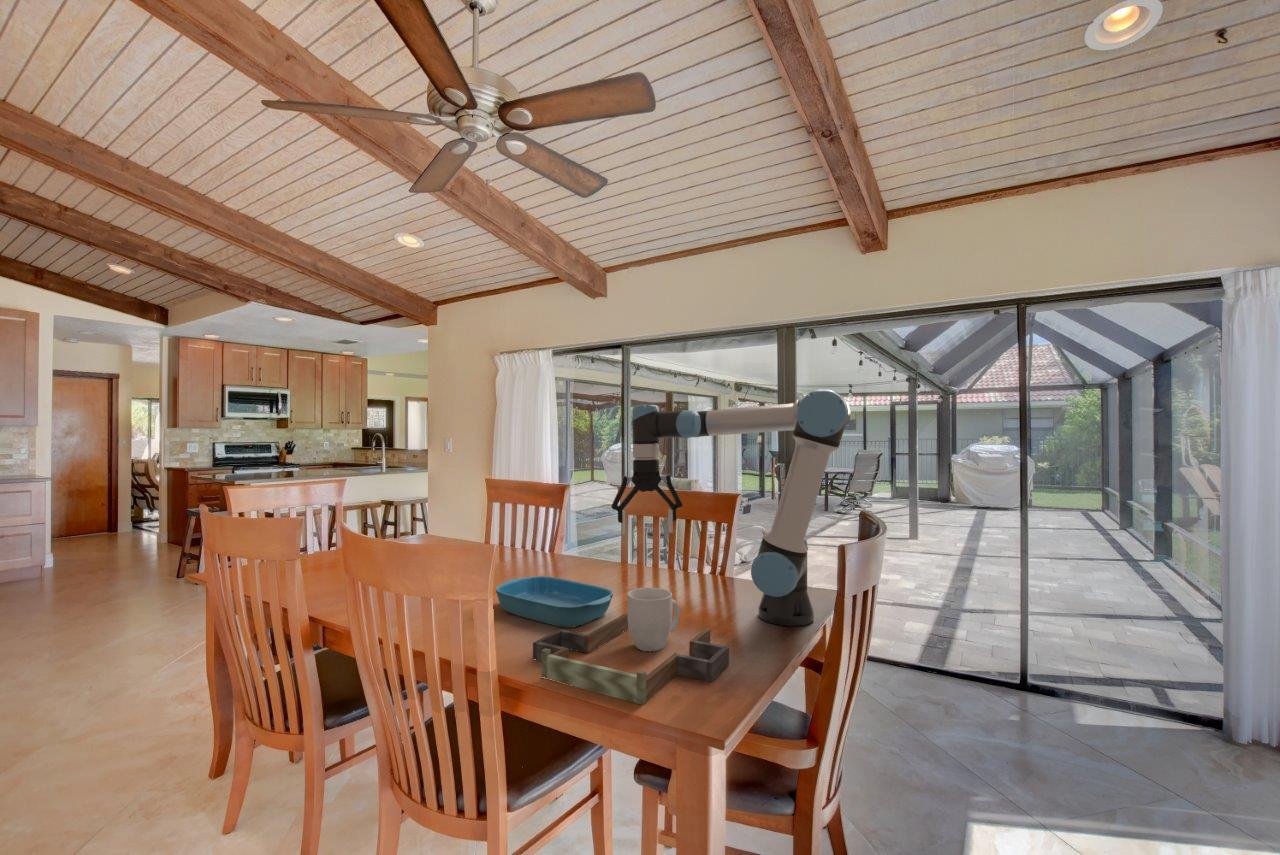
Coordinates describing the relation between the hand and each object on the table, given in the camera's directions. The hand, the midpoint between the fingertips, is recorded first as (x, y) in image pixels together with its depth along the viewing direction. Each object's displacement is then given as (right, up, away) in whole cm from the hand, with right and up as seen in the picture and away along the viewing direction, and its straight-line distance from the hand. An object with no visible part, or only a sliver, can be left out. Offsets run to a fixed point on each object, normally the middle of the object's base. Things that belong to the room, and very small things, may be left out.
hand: (647, 533), depth 167 cm
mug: (+1, -24, -24) cm, 33 cm away
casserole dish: (-27, -24, +2) cm, 36 cm away
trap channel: (-4, -23, -33) cm, 41 cm away
